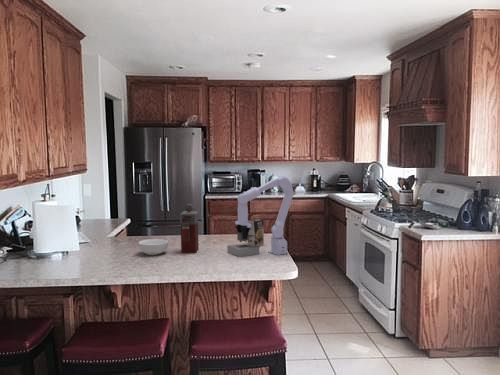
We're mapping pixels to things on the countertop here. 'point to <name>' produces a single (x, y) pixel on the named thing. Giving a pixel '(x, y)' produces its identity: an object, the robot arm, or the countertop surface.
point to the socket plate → (243, 249)
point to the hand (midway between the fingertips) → (243, 238)
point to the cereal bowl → (153, 246)
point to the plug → (241, 237)
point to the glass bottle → (189, 230)
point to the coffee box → (256, 232)
